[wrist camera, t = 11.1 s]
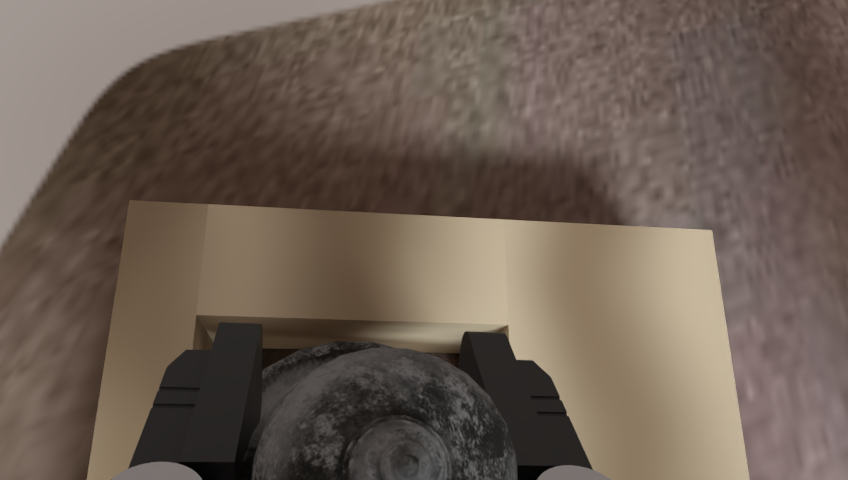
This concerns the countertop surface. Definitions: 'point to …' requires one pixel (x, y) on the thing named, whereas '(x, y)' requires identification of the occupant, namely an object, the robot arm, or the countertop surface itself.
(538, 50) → the countertop surface
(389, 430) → the grey tall knobbed piece
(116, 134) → the countertop surface
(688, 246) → the jig
